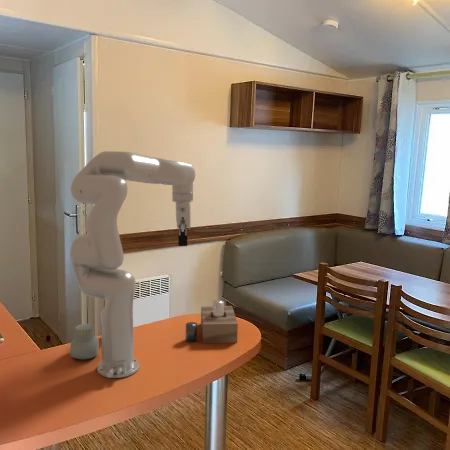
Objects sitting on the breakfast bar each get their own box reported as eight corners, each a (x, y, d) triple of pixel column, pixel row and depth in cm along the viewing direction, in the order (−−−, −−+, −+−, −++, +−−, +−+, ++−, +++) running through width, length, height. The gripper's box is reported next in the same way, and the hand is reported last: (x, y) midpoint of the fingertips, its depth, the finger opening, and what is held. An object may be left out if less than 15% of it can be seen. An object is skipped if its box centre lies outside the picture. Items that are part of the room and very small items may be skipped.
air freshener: (74, 349, 159) (73, 321, 157) (99, 347, 160) (98, 320, 159) (69, 364, 148) (68, 334, 147) (96, 362, 150) (95, 332, 148)
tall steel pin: (224, 334, 172) (224, 303, 170) (213, 335, 172) (213, 303, 170) (223, 330, 176) (223, 299, 174) (212, 330, 176) (212, 300, 174)
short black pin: (197, 342, 166) (197, 326, 164) (186, 342, 165) (185, 326, 164) (197, 337, 169) (197, 321, 168) (185, 338, 169) (185, 322, 168)
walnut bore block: (237, 342, 166) (237, 323, 165) (203, 343, 165) (203, 324, 164) (231, 323, 183) (232, 305, 182) (201, 323, 182) (201, 306, 181)
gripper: (193, 200, 164) (193, 248, 167) (192, 194, 181) (192, 238, 184) (171, 200, 163) (172, 248, 166) (172, 194, 180) (173, 238, 183)
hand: (182, 242), depth 175 cm, fingers open, 9 cm apart
